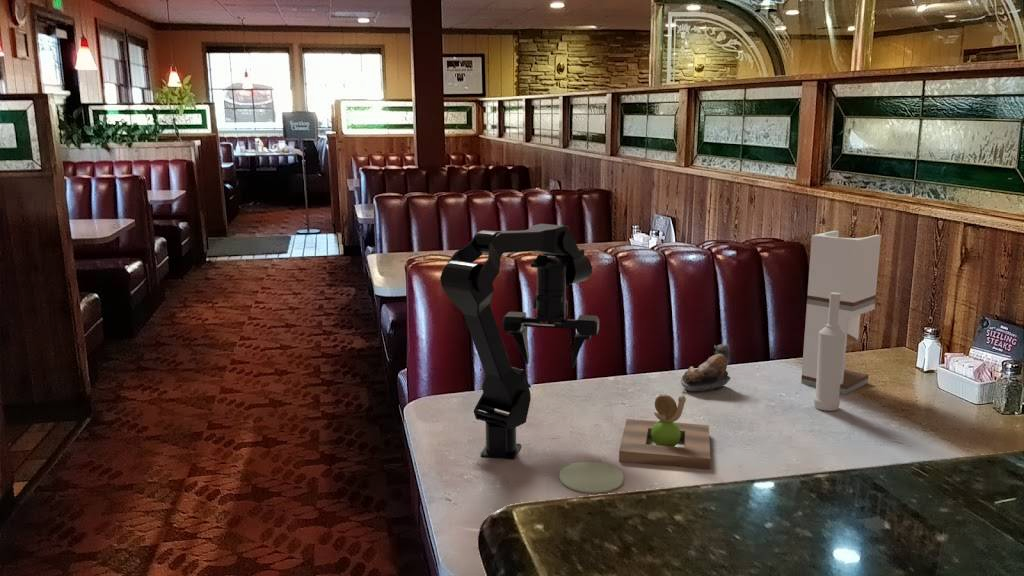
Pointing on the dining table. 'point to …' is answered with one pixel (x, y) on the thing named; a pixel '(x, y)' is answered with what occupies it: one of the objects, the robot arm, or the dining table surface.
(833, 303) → the bottle
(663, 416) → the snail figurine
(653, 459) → the frame
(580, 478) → the felt coaster
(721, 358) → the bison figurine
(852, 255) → the white tall stand
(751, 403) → the dining table surface
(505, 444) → the robot arm
